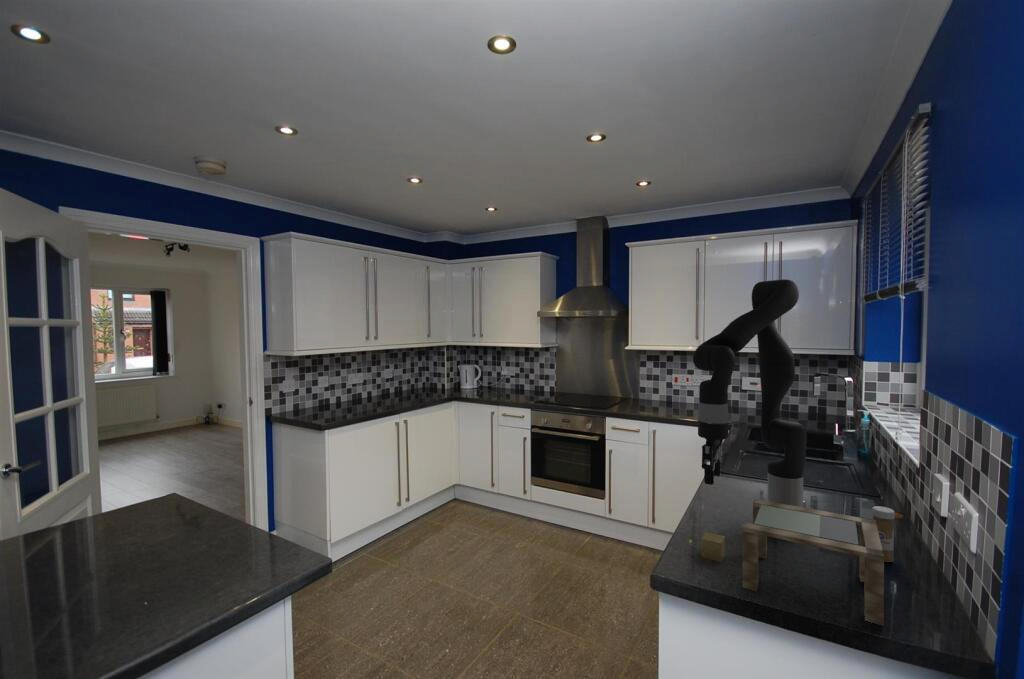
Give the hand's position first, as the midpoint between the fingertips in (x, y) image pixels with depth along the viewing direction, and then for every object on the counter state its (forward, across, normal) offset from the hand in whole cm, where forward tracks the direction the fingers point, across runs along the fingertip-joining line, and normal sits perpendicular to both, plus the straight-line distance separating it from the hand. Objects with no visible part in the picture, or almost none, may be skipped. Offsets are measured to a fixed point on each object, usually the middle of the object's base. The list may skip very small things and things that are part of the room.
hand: (712, 479), depth 124 cm
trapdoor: (+9, +2, +21) cm, 23 cm away
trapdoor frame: (+20, +2, +22) cm, 30 cm away
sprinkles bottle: (+20, -22, +38) cm, 48 cm away
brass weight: (+21, 0, 0) cm, 21 cm away
